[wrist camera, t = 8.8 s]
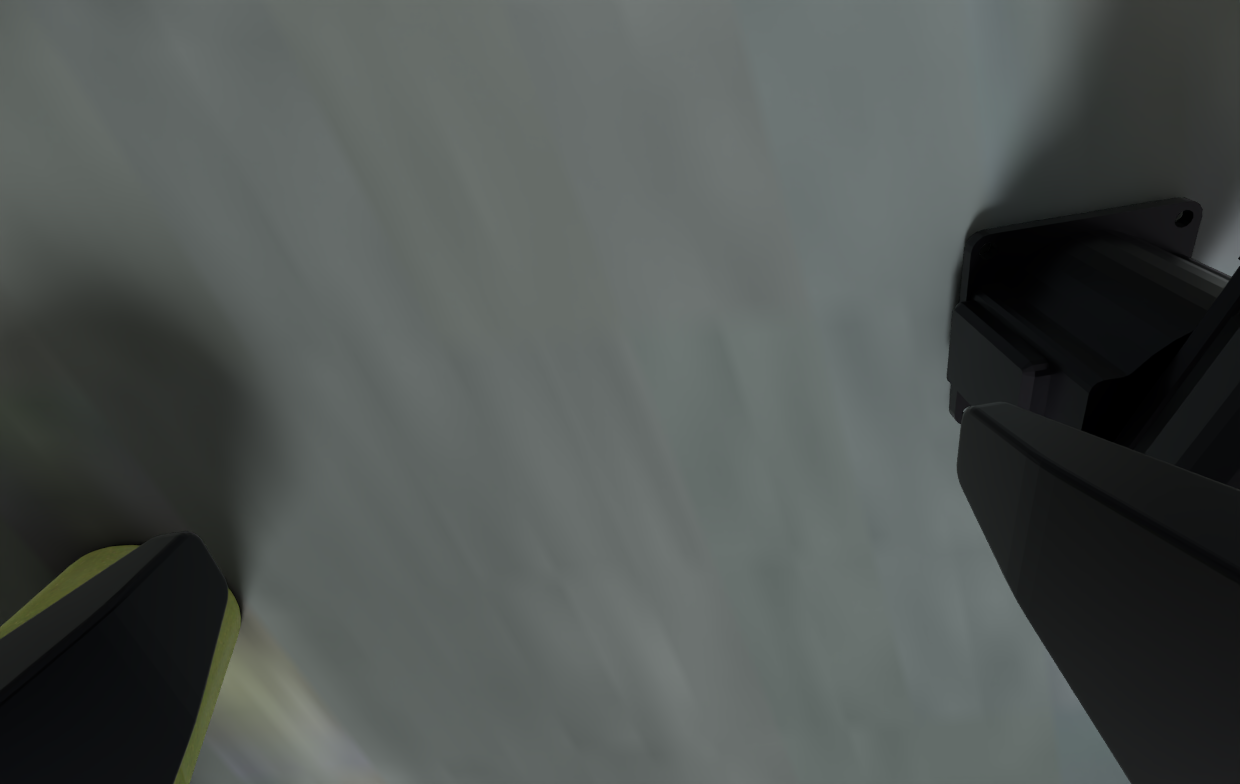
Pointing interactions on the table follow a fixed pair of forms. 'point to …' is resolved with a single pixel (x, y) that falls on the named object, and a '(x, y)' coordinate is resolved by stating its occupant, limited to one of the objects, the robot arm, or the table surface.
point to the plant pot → (224, 648)
